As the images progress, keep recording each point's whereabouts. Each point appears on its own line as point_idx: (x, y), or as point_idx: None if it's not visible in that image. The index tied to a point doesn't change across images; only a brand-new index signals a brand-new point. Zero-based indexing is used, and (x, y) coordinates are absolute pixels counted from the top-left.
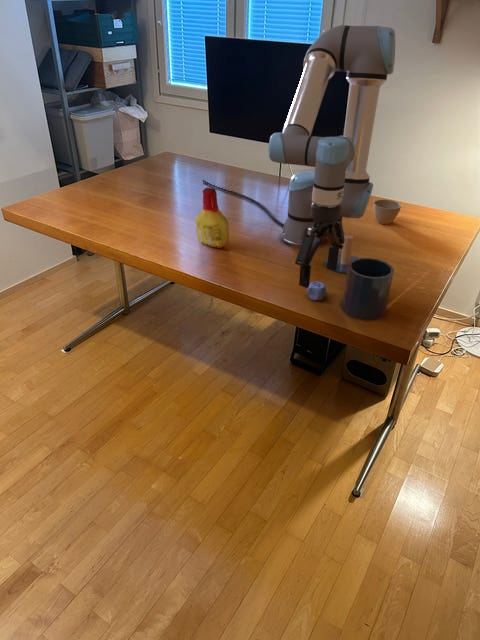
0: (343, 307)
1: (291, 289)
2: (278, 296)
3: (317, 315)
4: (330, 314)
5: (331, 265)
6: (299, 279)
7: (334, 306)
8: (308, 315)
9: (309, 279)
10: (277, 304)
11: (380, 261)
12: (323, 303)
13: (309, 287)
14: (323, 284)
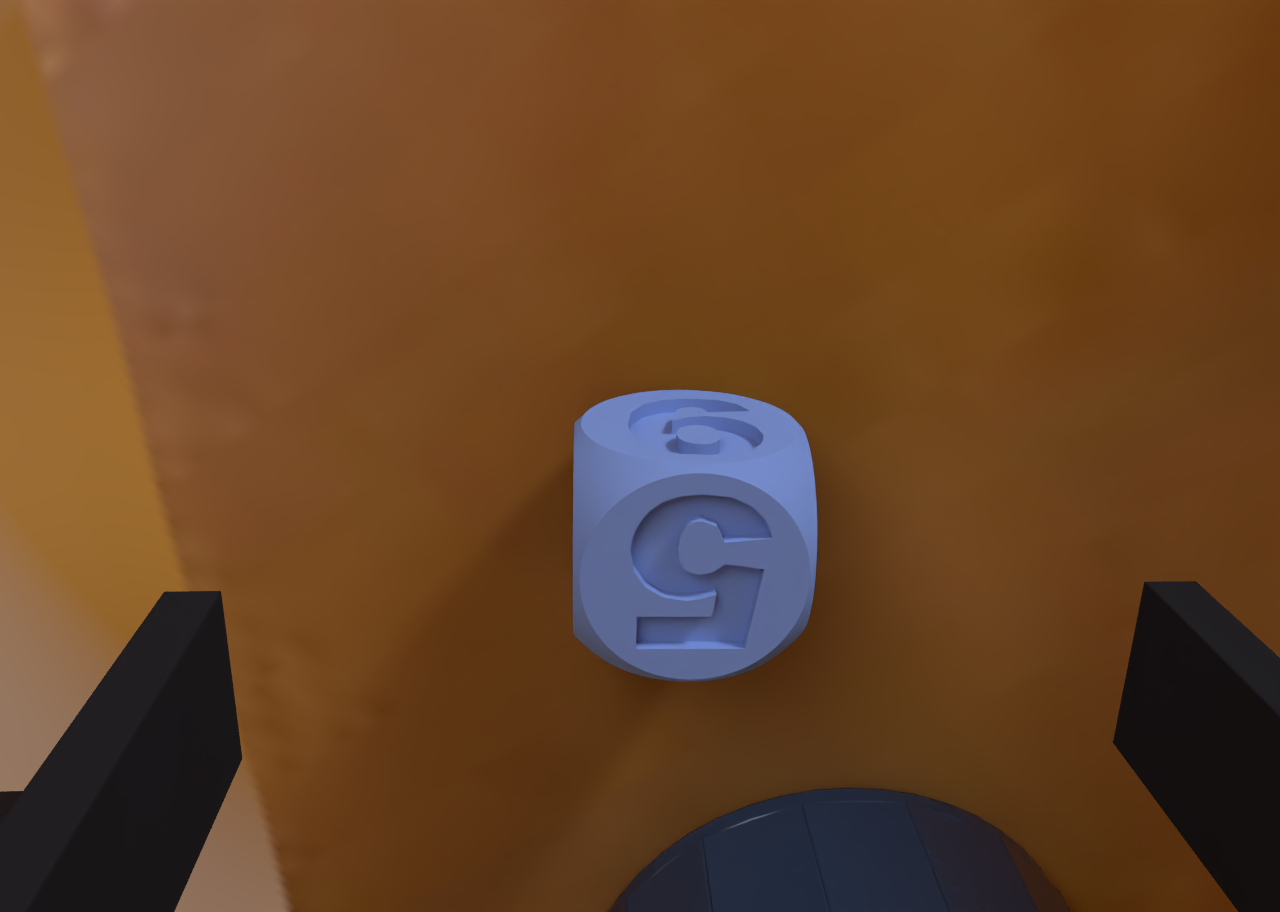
0: (649, 881)
1: (622, 64)
2: (283, 34)
3: (308, 730)
4: (446, 818)
5: (1171, 721)
6: (119, 656)
7: (638, 763)
8: None
9: (181, 877)
10: (86, 179)
11: None
12: None
13: (578, 493)
14: (773, 640)
